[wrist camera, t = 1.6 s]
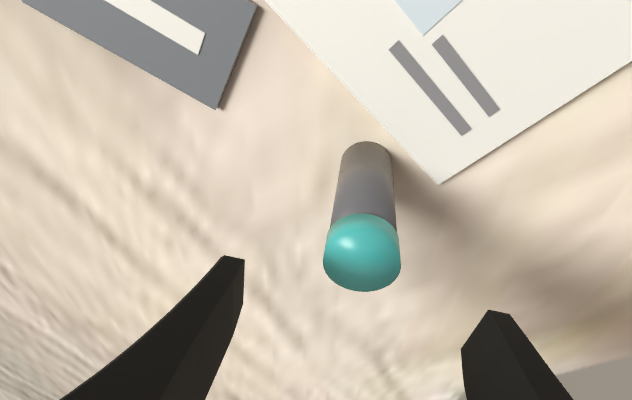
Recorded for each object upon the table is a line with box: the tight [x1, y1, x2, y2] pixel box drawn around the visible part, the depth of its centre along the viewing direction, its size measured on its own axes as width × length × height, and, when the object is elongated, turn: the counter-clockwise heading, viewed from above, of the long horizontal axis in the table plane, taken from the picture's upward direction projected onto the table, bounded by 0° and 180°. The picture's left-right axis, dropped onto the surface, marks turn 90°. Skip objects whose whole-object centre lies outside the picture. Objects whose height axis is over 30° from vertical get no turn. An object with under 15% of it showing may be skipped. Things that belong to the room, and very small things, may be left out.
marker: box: [323, 141, 401, 292], centre depth 15 cm, size 3×3×7 cm
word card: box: [22, 0, 258, 110], centre depth 15 cm, size 9×5×1 cm, turn 61°
